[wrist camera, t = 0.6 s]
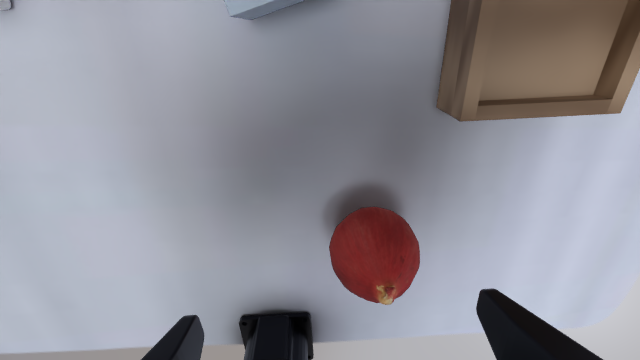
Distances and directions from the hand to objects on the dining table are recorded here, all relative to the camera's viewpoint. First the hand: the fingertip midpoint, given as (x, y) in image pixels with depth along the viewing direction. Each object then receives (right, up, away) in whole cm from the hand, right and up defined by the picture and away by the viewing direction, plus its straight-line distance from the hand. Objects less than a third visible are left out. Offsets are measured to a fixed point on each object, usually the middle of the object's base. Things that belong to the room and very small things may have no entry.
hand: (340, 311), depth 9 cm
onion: (+3, +1, +14) cm, 14 cm away
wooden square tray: (+11, +13, +8) cm, 19 cm away
